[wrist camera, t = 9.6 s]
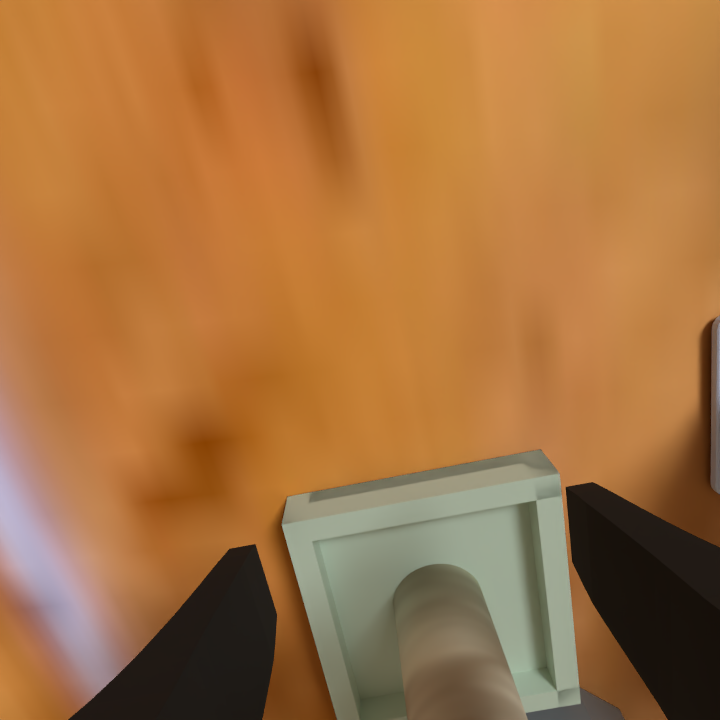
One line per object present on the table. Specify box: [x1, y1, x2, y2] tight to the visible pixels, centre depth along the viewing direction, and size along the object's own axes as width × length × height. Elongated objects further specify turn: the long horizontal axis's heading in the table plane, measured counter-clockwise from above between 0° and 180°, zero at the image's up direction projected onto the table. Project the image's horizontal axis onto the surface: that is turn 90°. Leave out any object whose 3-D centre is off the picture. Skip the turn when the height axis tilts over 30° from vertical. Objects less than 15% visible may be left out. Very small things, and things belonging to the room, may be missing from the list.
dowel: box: [393, 564, 528, 720], centre depth 18 cm, size 4×4×9 cm
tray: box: [282, 450, 581, 720], centre depth 22 cm, size 11×12×2 cm
